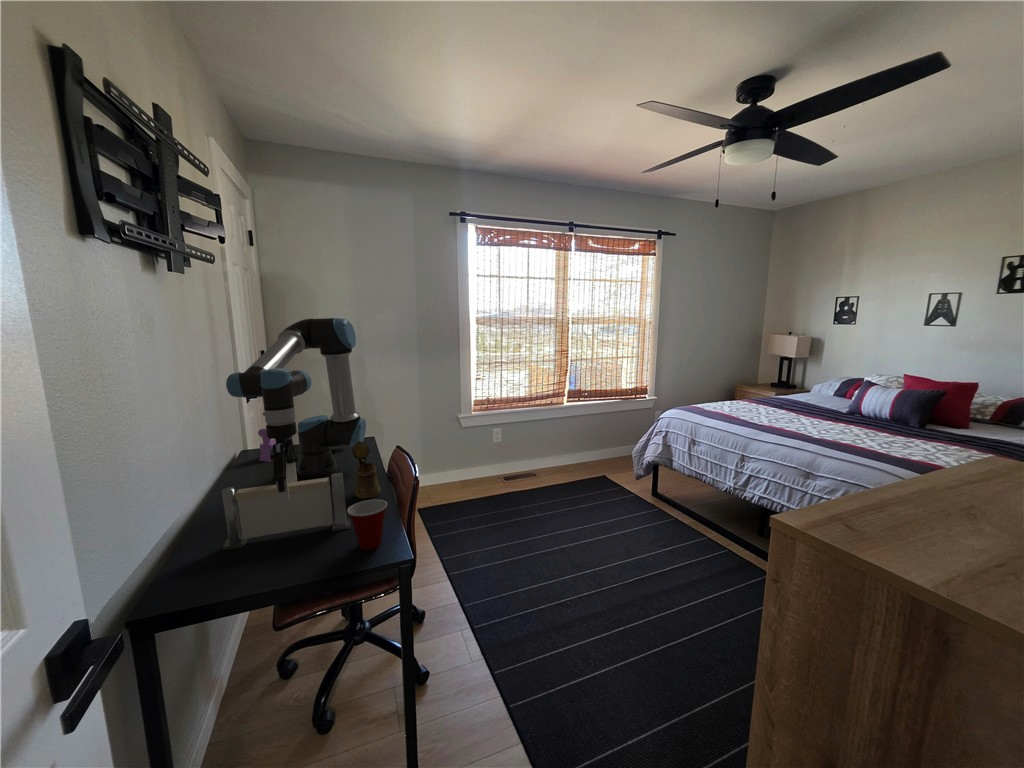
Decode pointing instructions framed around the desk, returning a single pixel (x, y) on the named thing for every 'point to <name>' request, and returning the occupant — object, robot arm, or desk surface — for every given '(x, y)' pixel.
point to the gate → (284, 508)
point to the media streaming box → (336, 449)
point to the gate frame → (238, 542)
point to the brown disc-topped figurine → (365, 473)
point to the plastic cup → (368, 522)
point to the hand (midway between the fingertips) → (288, 491)
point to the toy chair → (265, 446)
